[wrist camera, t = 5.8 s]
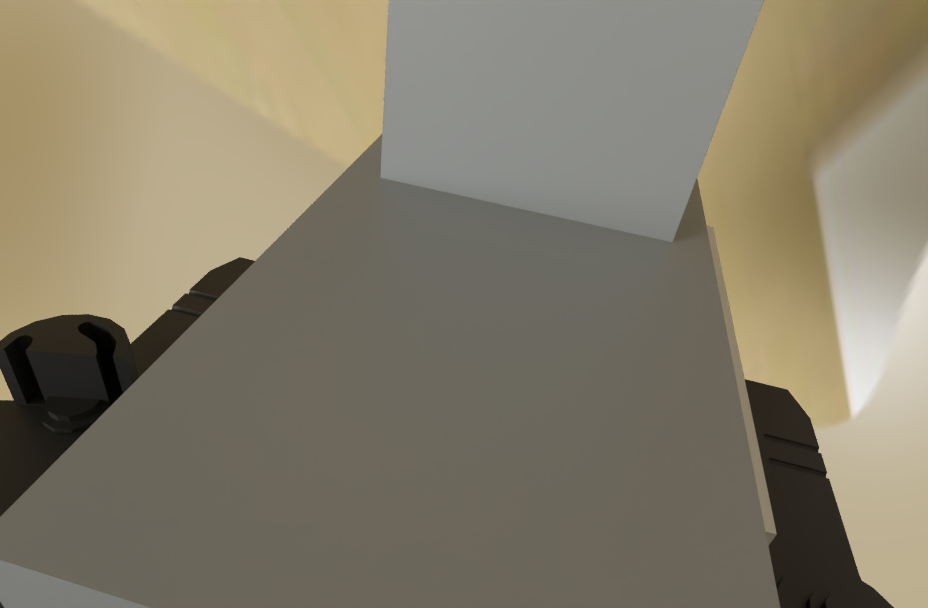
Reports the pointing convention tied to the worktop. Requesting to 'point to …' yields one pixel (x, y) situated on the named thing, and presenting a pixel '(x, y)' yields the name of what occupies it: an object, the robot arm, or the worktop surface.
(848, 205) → the worktop surface
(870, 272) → the worktop surface
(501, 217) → the block
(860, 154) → the worktop surface
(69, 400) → the robot arm
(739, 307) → the worktop surface
